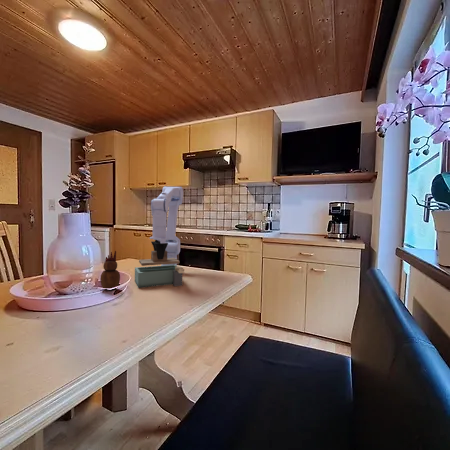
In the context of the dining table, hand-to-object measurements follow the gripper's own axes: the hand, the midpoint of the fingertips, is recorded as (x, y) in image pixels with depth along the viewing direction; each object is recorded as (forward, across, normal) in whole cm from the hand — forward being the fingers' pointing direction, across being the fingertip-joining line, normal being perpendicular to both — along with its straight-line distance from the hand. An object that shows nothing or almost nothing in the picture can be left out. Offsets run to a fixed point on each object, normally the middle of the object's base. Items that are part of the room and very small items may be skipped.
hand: (159, 258), depth 111 cm
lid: (+2, 0, 0) cm, 2 cm away
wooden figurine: (+11, +4, -19) cm, 22 cm away
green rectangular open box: (+10, +1, 0) cm, 11 cm away
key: (+4, +10, +6) cm, 12 cm away
